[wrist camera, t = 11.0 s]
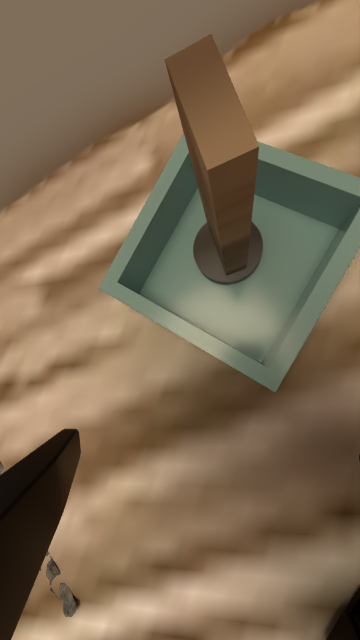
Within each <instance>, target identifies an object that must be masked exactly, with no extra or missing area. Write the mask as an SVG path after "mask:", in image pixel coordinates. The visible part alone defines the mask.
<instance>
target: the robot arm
mask: <svg viewBox="0 0 360 640" xmlns="http://www.w3.org/2000/svg"><path fill="white" fill-rule="evenodd" d="M80 454H81V449H80V438H79V431H78V430H77V429H63V430H62V431H60V432H59V433H58V434H56V435H55V436H53V437H52V438H51V439H49V440H48V441H47V442H45V443H44V444H42V445H41V446H40V447H38V448H37V449H36V450H34V451H33V452H31V453H30V454H29V455H27V456H26V457H25V458H23V459H22V460H20V461H19V462H18V463H16V464H15V465H14V466H12V467H11V468H9V469H8V470H7V471H5V472H4V473H3V474H1V475H0V640H11V638H12V636H13V634H14V631H15V629H16V626H17V624H18V621H19V619H20V617H21V614H22V612H23V609H24V607H25V604H26V602H27V600H28V597H29V595H30V592H31V590H32V587H33V585H34V583H35V580H36V578H37V575H38V573H39V570H40V568H41V565H42V563H43V561H44V558H45V556H46V553H47V551H48V548H49V546H50V544H51V541H52V539H53V536H54V534H55V531H56V529H57V527H58V524H59V522H60V519H61V517H62V514H63V511H64V508H65V505H66V502H67V499H68V495H69V492H70V489H71V485H72V482H73V479H74V476H75V472H76V469H77V466H78V462H79V459H80ZM359 460H360V455H359ZM327 640H360V588H359V589H358V591H357V592H356V594H355V596H354V597H353V599H352V601H351V602H350V604H349V605H348V607H347V609H346V610H345V612H344V613H343V614H342V615H341V616H340V618H339V620H338V621H337V623H336V625H335V626H334V628H333V630H332V631H331V633H330V635H329V636H328V638H327Z"/></svg>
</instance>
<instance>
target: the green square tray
mask: <svg viewBox="0 0 360 640" xmlns="http://www.w3.org/2000/svg"><path fill="white" fill-rule="evenodd" d="M257 142H258V141H257ZM258 145H259V154H258V163H257V173H256V183H255V192H254V202H253V212H252V222H253V223H254V224H255V225H256V226H257V228H258V229H259V231H260V233H261V236H262V240H263V250H262V255H261V259H260V262H259V264H258V266H257V268H256V270H255V271H254V272H253V273H252V274H251V275H250V276H249V277H248V278H246V279H245V280H243V281H241V282H239V283H235V284H229V285H224V284H218V283H215V282H213V281H211V280H209V279H208V278H206V277H205V276H204V275H203V274H202V273H201V271H200V269H199V268H198V266H197V264H196V262H195V259H194V255H193V245H194V240H195V237H196V235H197V233H198V231H199V230H200V229H201V227H202V226H203V225H204V224H205V223H207V220H206V216H205V212H204V209H203V205H202V201H201V197H200V193H199V189H198V185H197V182H196V178H195V174H194V170H193V166H192V162H191V159H190V155H189V151H188V147H187V143H186V139H185V135H184V134H183V136H182V137H181V139H180V141H179V143H178V145H177V146H176V148H175V150H174V152H173V154H172V156H171V157H170V159H169V161H168V163H167V165H166V166H165V168H164V170H163V172H162V174H161V176H160V177H159V179H158V181H157V183H156V185H155V186H154V188H153V190H152V192H151V194H150V196H149V197H148V199H147V201H146V203H145V205H144V207H143V208H142V210H141V212H140V214H139V216H138V217H137V219H136V221H135V223H134V225H133V227H132V228H131V230H130V232H129V234H128V236H127V237H126V239H125V241H124V243H123V245H122V247H121V248H120V250H119V252H118V254H117V256H116V257H115V259H114V261H113V263H112V265H111V267H110V268H109V270H108V272H107V274H106V276H105V277H104V279H103V281H102V283H101V285H100V287H99V289H100V290H102V291H104V292H105V293H107V294H109V295H110V296H112V297H114V298H116V299H117V300H119V301H121V302H122V303H124V304H126V305H127V306H129V307H131V308H133V309H134V310H136V311H138V312H139V313H141V314H143V315H144V316H146V317H148V318H150V319H151V320H153V321H155V322H156V323H158V324H160V325H161V326H163V327H165V328H166V329H168V330H170V331H172V332H173V333H175V334H177V335H178V336H180V337H182V338H183V339H185V340H187V341H189V342H190V343H192V344H194V345H195V346H197V347H199V348H200V349H202V350H204V351H206V352H207V353H209V354H211V355H212V356H214V357H216V358H217V359H219V360H221V361H223V362H224V363H226V364H228V365H229V366H231V367H233V368H234V369H236V370H238V371H240V372H241V373H243V374H245V375H246V376H248V377H250V378H251V379H253V380H255V381H256V382H258V383H260V384H262V385H263V386H265V387H267V388H268V389H270V390H272V391H273V392H276V391H277V389H278V387H279V385H280V384H281V382H282V380H283V379H284V377H285V375H286V373H287V372H288V370H289V368H290V367H291V365H292V363H293V361H294V360H295V358H296V356H297V354H298V353H299V351H300V349H301V348H302V346H303V344H304V342H305V341H306V339H307V337H308V335H309V334H310V332H311V330H312V329H313V327H314V325H315V323H316V322H317V320H318V318H319V316H320V315H321V313H322V311H323V310H324V308H325V306H326V304H327V303H328V301H329V299H330V298H331V296H332V294H333V292H334V291H335V289H336V287H337V285H338V284H339V282H340V280H341V279H342V277H343V275H344V273H345V272H346V270H347V268H348V266H349V265H350V263H351V261H352V260H353V258H354V256H355V254H356V253H357V251H358V249H359V248H360V178H359V177H357V176H354V175H351V174H348V173H345V172H342V171H340V170H337V169H334V168H331V167H328V166H325V165H323V164H320V163H317V162H314V161H311V160H308V159H306V158H303V157H300V156H297V155H294V154H292V153H289V152H286V151H283V150H280V149H277V148H275V147H272V146H269V145H266V144H263V143H260V142H258Z"/></svg>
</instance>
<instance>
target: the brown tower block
mask: <svg viewBox="0 0 360 640" xmlns="http://www.w3.org/2000/svg"><path fill="white" fill-rule="evenodd" d="M165 62H166V66H167V70H168V74H169V77H170V81H171V85H172V89H173V93H174V97H175V101H176V105H177V108H178V112H179V116H180V120H181V124H182V128H183V132H184V135H185V139H186V143H187V147H188V151H189V155H190V159H191V162H192V166H193V170H194V174H195V178H196V182H197V185H198V189H199V193H200V197H201V201H202V205H203V209H204V212H205V216H206V220H207V223H205V224H204V225H203V226H202V227H201V229H200V230H199V231H198V233H197V235H196V237H195V240H194V245H193V255H194V259H195V262H196V264H197V266H198V268H199V269H200V271H201V273H202V274H203V275H204V276H205V277H206V278H208V279H209V280H211V281H213V282H215V283H218V284H224V285H229V284H235V283H239V282H241V281H243V280H245V279H246V278H248V277H249V276H250V275H251V274H252V273H253V272H254V271H255V270H256V268H257V266H258V264H259V262H260V259H261V255H262V250H263V240H262V236H261V233H260V231H259V229H258V228H257V226H256V225H255V224H254V223H253V222H252V212H253V202H254V192H255V183H256V173H257V163H258V154H259V145H258V142H257V140H256V138H255V135H254V133H253V131H252V128H251V126H250V124H249V121H248V119H247V117H246V114H245V112H244V110H243V107H242V105H241V103H240V100H239V98H238V96H237V93H236V91H235V89H234V86H233V84H232V82H231V79H230V77H229V75H228V72H227V70H226V68H225V65H224V63H223V61H222V58H221V56H220V54H219V51H218V49H217V47H216V44H215V42H214V40H213V37H212V35H211V34H210V35H208V36H207V37H205V38H203V39H201V40H200V41H198V42H196V43H194V44H192V45H190V46H189V47H187V48H185V49H183V50H181V51H180V52H178V53H176V54H174V55H172V56H171V57H169V58H167V59H165Z"/></svg>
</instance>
